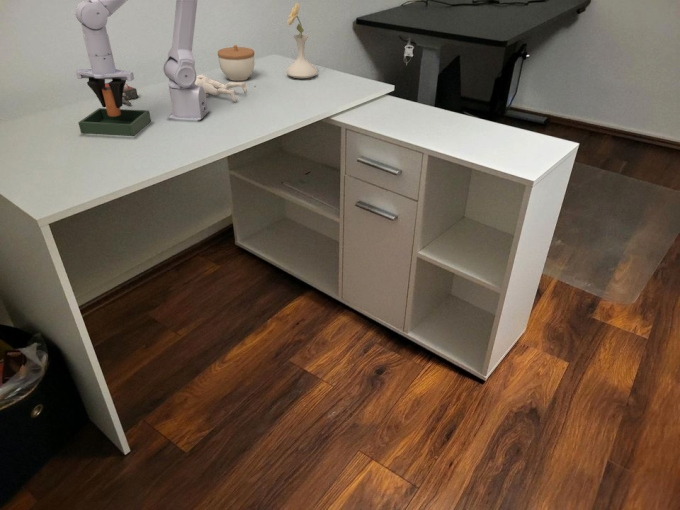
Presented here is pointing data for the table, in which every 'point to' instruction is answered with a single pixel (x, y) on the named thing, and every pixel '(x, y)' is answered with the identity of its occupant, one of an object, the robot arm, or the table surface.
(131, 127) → the basket
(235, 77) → the dishware bowl
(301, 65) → the flower in vase
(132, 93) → the walkie-talkie
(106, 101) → the tube
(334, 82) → the table surface
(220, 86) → the superhero figure
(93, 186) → the table surface
